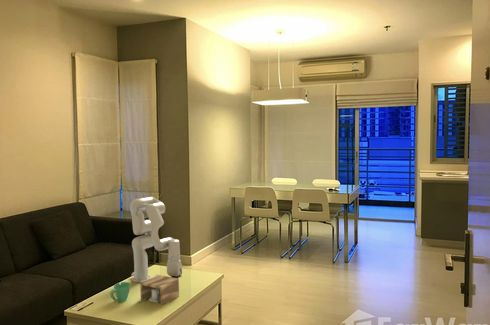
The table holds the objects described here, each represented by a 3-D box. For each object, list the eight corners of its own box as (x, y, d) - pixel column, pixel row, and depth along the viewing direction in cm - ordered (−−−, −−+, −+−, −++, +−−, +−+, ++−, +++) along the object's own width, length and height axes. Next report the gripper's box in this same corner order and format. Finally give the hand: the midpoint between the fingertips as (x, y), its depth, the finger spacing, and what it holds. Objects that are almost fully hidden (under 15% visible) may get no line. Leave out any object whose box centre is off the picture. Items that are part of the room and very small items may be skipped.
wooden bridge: (140, 299, 257) (140, 282, 257) (157, 291, 271) (157, 274, 271) (162, 305, 249) (162, 286, 248) (179, 296, 263) (178, 278, 262)
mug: (121, 296, 264) (121, 281, 263) (133, 298, 260) (133, 283, 259) (105, 304, 251) (104, 289, 250) (117, 307, 247) (117, 291, 246)
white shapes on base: (148, 300, 256) (148, 289, 256) (168, 289, 274) (168, 279, 273) (157, 302, 253) (157, 290, 253) (177, 291, 271) (176, 280, 270)
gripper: (162, 258, 272) (162, 284, 273) (179, 261, 265) (180, 288, 266) (169, 255, 279) (170, 281, 280) (186, 257, 272) (187, 284, 273)
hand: (175, 284), depth 273 cm, fingers closed
